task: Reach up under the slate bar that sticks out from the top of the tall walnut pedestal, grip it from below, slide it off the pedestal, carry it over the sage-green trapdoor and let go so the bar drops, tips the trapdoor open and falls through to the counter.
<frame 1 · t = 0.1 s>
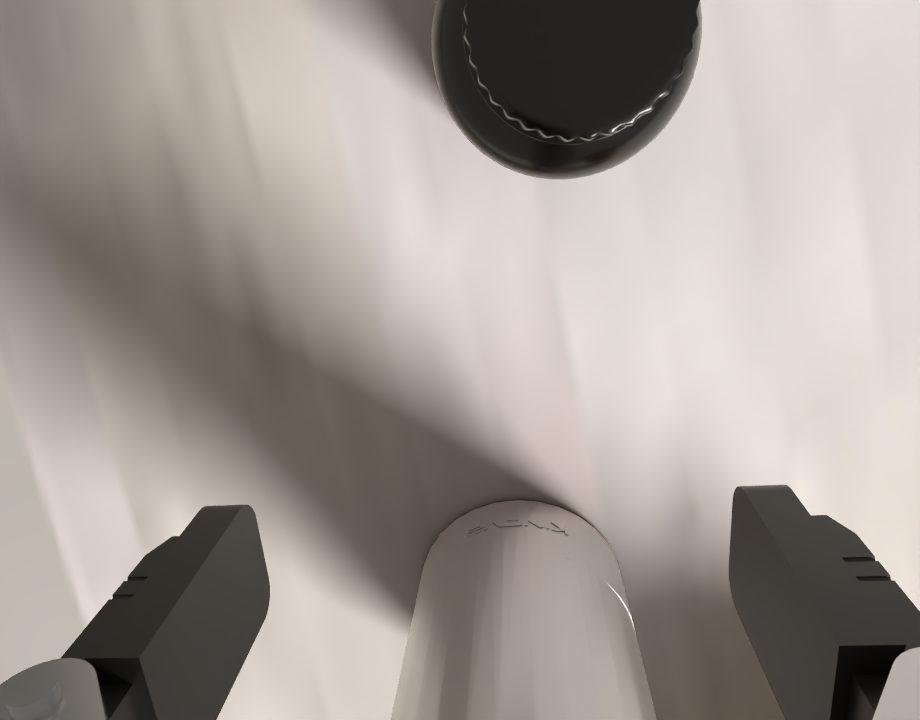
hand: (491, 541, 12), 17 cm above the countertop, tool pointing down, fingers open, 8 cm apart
supplement bottle: (546, 71, 25), on the countertop
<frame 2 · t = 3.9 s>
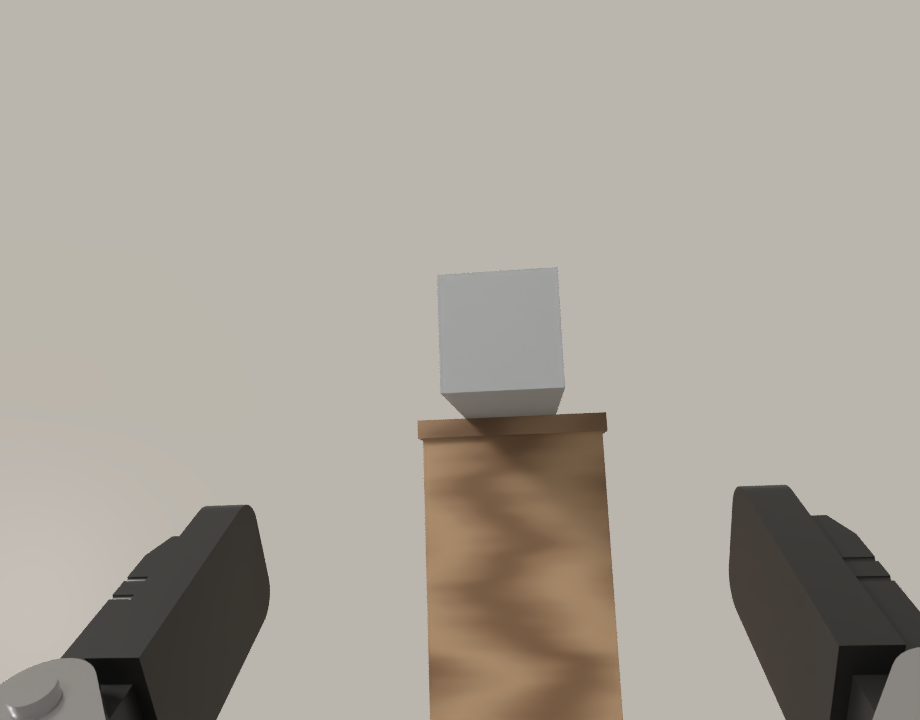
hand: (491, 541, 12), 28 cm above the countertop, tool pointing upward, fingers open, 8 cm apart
slate bar: (511, 420, 33), point 32 cm above the countertop, touching walnut pedestal
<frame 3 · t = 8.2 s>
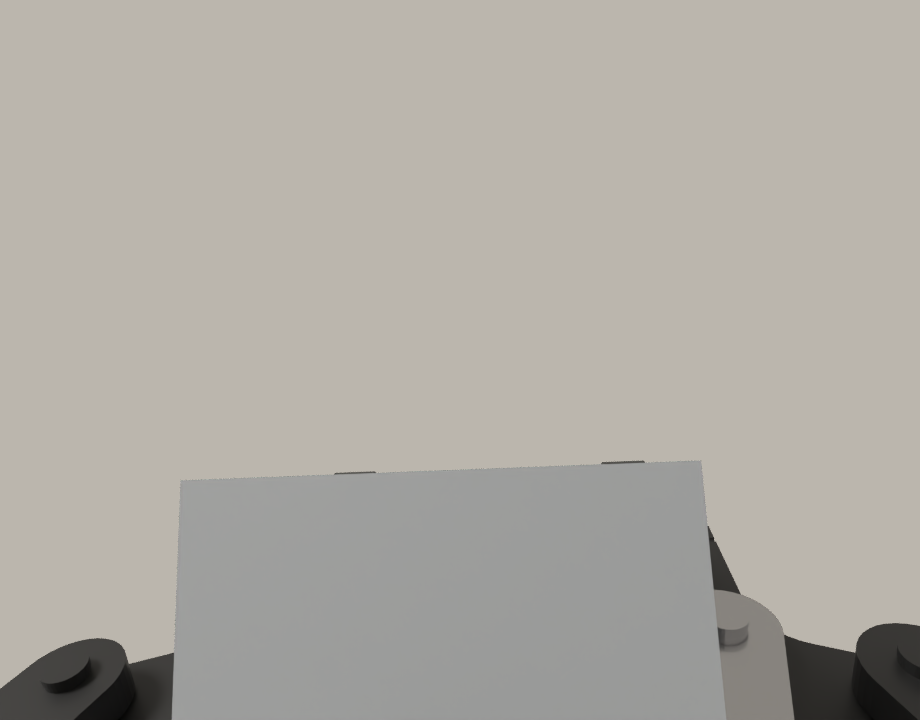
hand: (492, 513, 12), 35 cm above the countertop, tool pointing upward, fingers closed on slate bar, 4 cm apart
slate bar: (506, 669, 15), point 32 cm above the countertop, touching gripper, walnut pedestal
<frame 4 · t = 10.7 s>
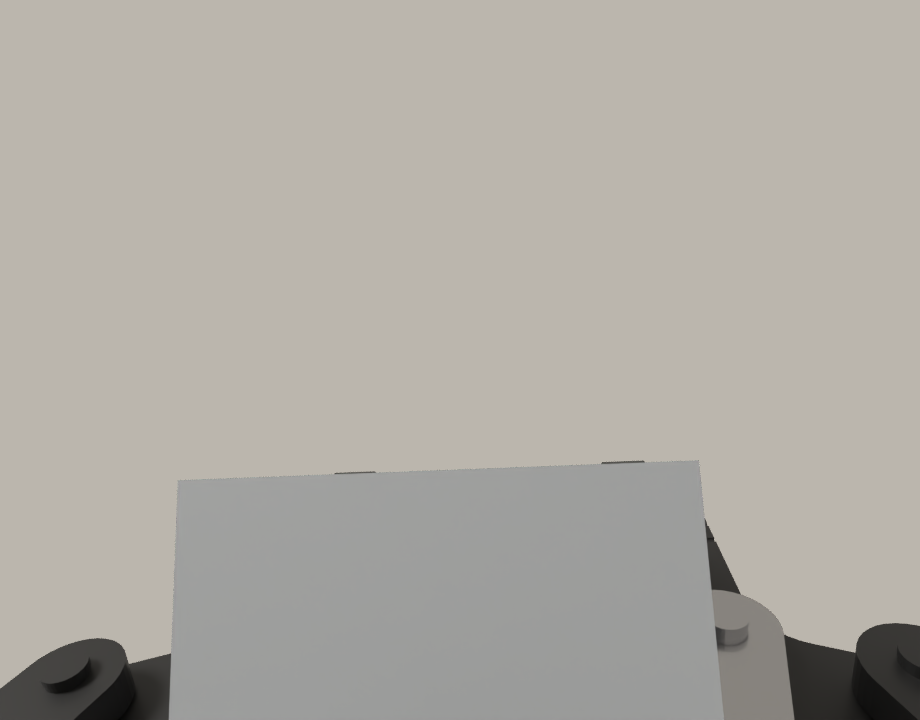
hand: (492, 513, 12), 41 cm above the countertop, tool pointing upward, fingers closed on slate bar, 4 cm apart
slate bar: (505, 668, 15), point 38 cm above the countertop, touching gripper
when the fingers open (26 cm above the countertop, at t = 13.6 s): slate bar drops 21 cm and tips over, point 2 cm above the countertop.
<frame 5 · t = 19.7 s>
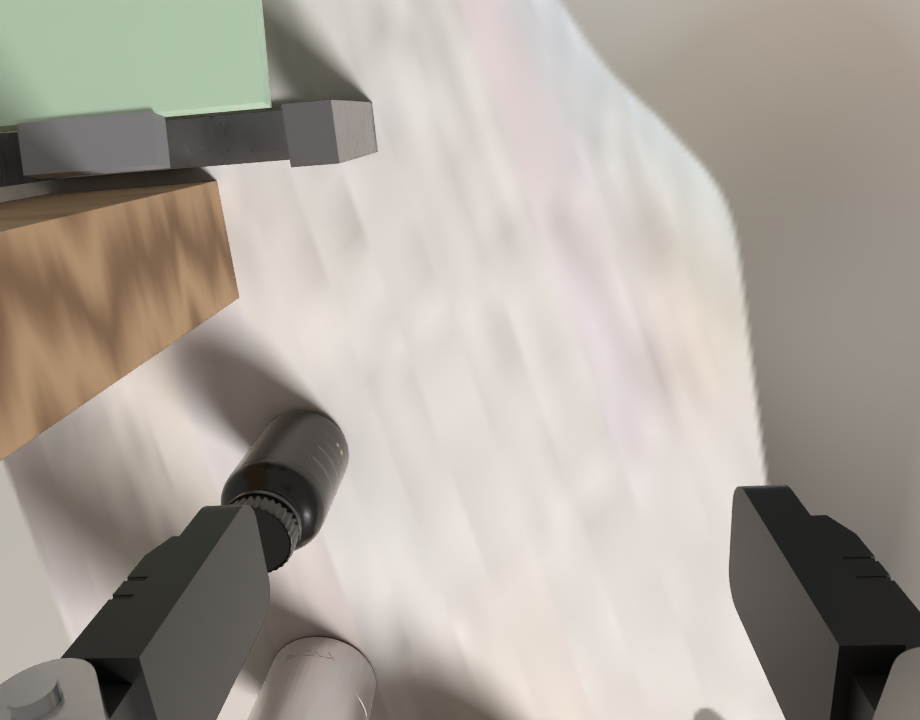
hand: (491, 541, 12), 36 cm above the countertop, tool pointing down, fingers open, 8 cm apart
trapdoor frame: (168, 16, 43), on the countertop
walnut pedestal: (144, 246, 48), on the countertop
trapdoor: (79, 19, 34), point 10 cm above the countertop, hinge at -13.0°
supplement bottle: (308, 447, 52), on the countertop
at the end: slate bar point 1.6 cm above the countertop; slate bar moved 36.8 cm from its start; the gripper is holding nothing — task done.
